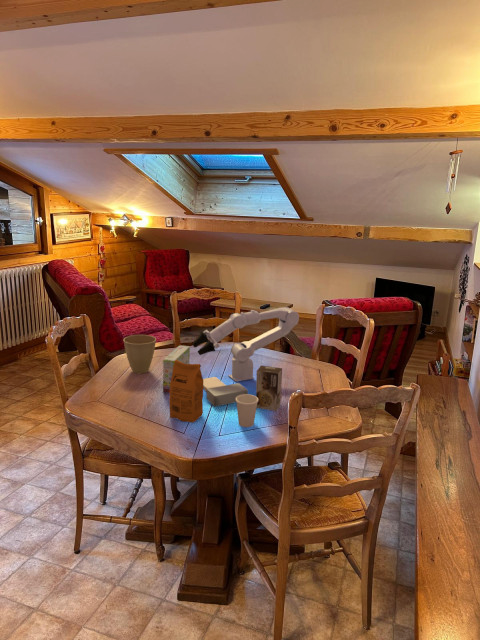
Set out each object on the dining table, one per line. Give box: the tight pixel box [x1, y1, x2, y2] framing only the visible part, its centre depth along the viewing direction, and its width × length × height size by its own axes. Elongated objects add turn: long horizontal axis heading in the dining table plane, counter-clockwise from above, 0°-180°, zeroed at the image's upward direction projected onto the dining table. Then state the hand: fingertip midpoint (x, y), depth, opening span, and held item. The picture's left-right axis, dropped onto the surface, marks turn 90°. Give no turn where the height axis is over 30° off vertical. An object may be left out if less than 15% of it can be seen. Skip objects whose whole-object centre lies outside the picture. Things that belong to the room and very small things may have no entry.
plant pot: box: [123, 334, 157, 374], centre depth 218 cm, size 15×15×16 cm
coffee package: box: [168, 360, 204, 424], centre depth 173 cm, size 10×12×22 cm
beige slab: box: [206, 382, 249, 407], centre depth 191 cm, size 15×8×4 cm, turn 118°
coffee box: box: [255, 365, 283, 412], centre depth 184 cm, size 9×6×16 cm
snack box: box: [162, 345, 191, 394], centre depth 204 cm, size 21×6×15 cm, turn 168°
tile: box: [203, 376, 226, 393], centre depth 204 cm, size 9×13×2 cm
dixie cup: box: [235, 393, 258, 428], centre depth 170 cm, size 8×8×10 cm
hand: (195, 349), depth 205 cm, fingers open, 7 cm apart
